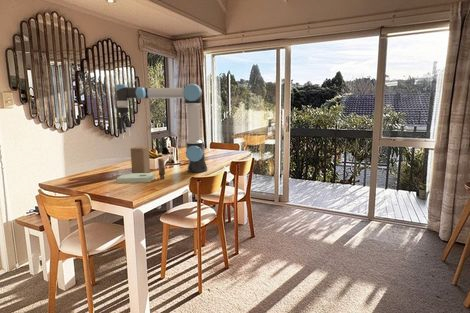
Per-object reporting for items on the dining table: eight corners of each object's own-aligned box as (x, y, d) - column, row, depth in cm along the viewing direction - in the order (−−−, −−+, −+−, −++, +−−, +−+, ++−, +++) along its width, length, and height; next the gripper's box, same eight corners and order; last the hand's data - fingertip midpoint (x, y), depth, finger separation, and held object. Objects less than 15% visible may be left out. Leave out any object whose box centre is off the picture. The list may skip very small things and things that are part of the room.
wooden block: (144, 175, 217) (142, 148, 213) (131, 175, 219) (129, 148, 215) (150, 172, 226) (149, 146, 223) (138, 171, 228) (136, 146, 225)
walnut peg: (165, 177, 209) (164, 158, 207) (164, 179, 205) (163, 159, 203) (159, 178, 209) (158, 158, 207) (158, 179, 205) (157, 159, 203)
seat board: (155, 177, 212) (155, 172, 211) (150, 182, 198) (149, 177, 198) (124, 177, 212) (123, 173, 211) (116, 182, 198) (116, 178, 197)
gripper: (123, 106, 221) (125, 135, 224) (110, 107, 196) (113, 139, 200) (133, 106, 221) (135, 135, 224) (121, 107, 196) (124, 139, 200)
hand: (125, 137), depth 212 cm, fingers open, 13 cm apart
